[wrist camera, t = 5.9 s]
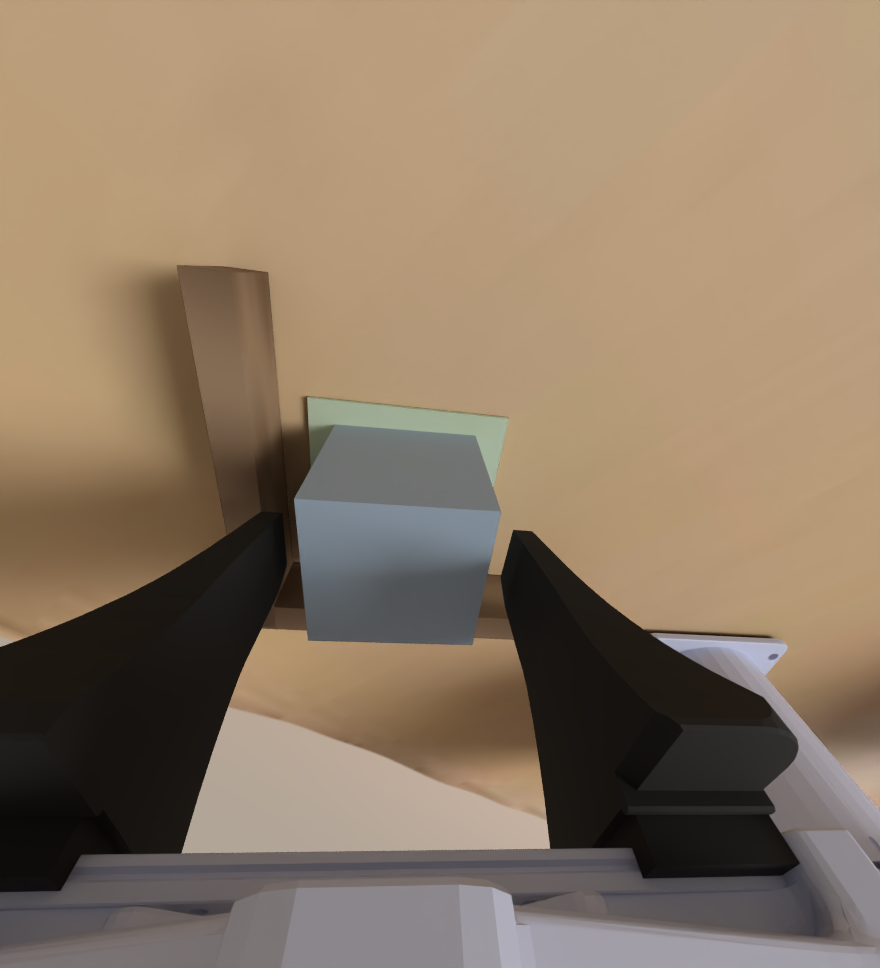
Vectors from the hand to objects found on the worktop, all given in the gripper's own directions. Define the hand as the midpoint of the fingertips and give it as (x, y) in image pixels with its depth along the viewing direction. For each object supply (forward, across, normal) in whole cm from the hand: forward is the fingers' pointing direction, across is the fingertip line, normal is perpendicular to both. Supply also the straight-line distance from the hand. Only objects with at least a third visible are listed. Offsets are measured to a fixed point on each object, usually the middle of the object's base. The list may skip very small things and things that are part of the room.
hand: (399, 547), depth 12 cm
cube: (+3, 0, 0) cm, 3 cm away
